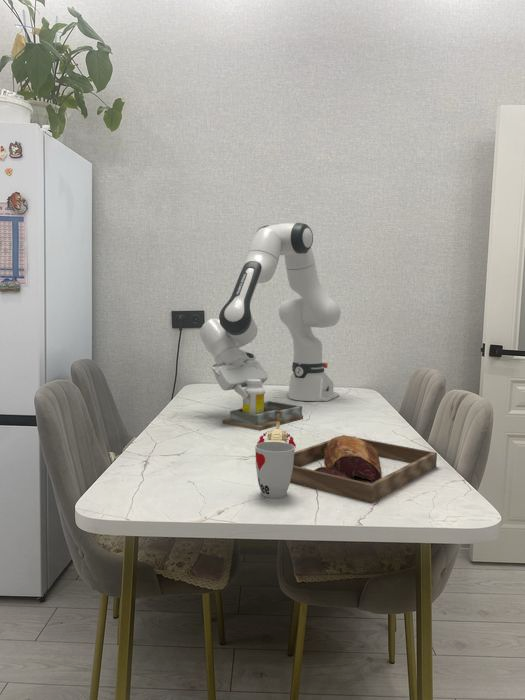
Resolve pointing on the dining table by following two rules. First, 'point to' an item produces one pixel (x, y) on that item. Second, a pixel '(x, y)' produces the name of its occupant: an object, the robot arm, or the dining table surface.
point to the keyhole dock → (265, 416)
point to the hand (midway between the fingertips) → (255, 396)
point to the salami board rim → (357, 489)
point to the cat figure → (277, 434)
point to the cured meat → (351, 459)
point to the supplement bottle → (254, 397)
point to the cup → (274, 467)
